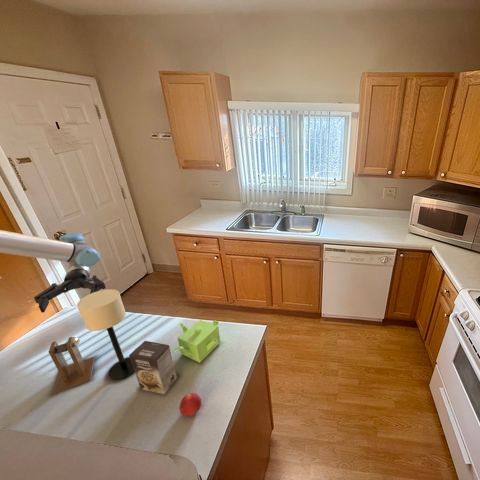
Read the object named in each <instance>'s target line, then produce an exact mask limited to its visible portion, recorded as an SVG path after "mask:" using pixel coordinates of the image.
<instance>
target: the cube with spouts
mask: <svg viewBox="0 0 480 480" xmlns="http://www.w3.org/2000/svg"><path fill="white" fill-rule="evenodd" d="M218 325H219V321H218V320H215V319H214V320H213V322H212V323H210V322H207V321H205V320H202V319H199V320H198V321H197V322H195V323H194V324H193V325H192V326H190V327H189V328H188V327H187V326H186V325H185V324H184V323H179V324H178V326H179V327H180V328H181V329H182V331H183V333H182V334H181V335H179V336H178V337H177V342H178V347H177V348H175V349H174V352H175V353H176V352H180V354H181V355H182V356H184V357H186V358H189V359H191V360H192V361H195V362H197V363H201V362H202V361H203V360H204V359H205V358H206V357H207V356H209V354H210V353H211V352H212V351H214V349H216V347H218V346H219V344H221V336H220V330H219V326H218Z"/></svg>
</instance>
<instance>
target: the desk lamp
mask: <svg viewBox="0 0 480 480" xmlns="http://www.w3.org/2000/svg"><path fill="white" fill-rule="evenodd" d="M76 307H77V310H78V312H79V314H80V316H81V319H82V321H83V323H84V327H85V328H86V330H88V331H92V332H98V331H104V330H106V331H107V334H108V336H109V340H110V341H111V342H110V343H111V345H112V347H113V350H114V353H115V355H116V358H117V360H118V361H116V362H115V363H114V364H113V365H112V366H111V367H110V368H109V370H108V372H107V376H108V378H109V379H110V380H112V381H120V380H124V379H126V378H129V377H130V376H132V375H133V374H134V373H135V371H134V368H133V365H132V362H131V360H130V357H129V356H128V357H125V356H124V353H123V351H122V348H121V345H120V342H119V340H118V337H117V335H116V331H115V329H114V327H115V326H116V325H118V324H120V323H121V322H122V321H123V320H124V319H125V318H126V315H127V311H126V310H125V305H124V303H123V300H122V296H121V294H120V291H118V290H117V289H113V288H112V289H111V288H110V289H100V290H99V291H97V292H94V293H91V294H90V293H89V294H87V295H85V296H84V297H82V298H81V299H79V301H78V302H77V304H76Z"/></svg>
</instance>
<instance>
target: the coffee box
mask: <svg viewBox="0 0 480 480" xmlns="http://www.w3.org/2000/svg"><path fill="white" fill-rule="evenodd" d="M128 357H130V360H131V362H132V365H133V368H134V371H135V372H134V373H135V377H136V379H137V382H138V385H139V388H140V389H141V390H144V391H149V392H153V393H158V394H163V395H165V394H166V393H167V392H168V390H169V389H170V388H171V387H172V386H173V384H174V383H175V382H176V380H177V378H178V376H177V371H176V368H175V363H174V359H173V356H172V351H171V347H170V345H169V344H166V343H161V342H156V341H155V342H154V341H149V340H144V341H143V342H142V343H140V344H139V345H138V346H137V347H136V348H134V349H133V351H132V352H131V353H130V354H129V355H128Z"/></svg>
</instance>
